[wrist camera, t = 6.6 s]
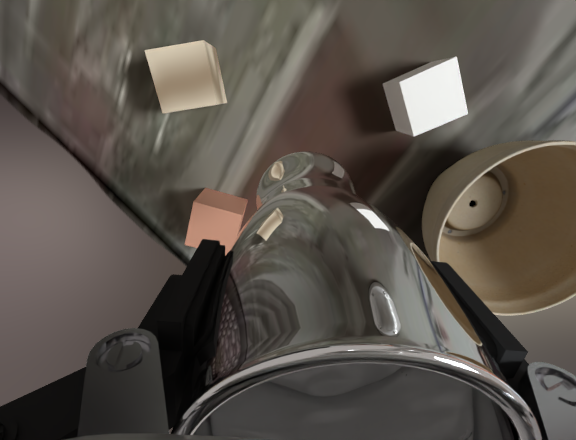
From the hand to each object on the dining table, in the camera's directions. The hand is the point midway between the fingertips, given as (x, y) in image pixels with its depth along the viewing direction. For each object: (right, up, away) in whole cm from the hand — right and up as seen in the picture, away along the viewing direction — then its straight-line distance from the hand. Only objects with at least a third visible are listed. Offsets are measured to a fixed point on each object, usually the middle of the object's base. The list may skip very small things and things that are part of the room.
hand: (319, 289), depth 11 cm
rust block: (-9, +3, +26) cm, 27 cm away
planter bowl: (+19, +5, +26) cm, 33 cm away
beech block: (-10, +16, +20) cm, 28 cm away
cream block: (+12, +15, +21) cm, 29 cm away
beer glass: (0, +4, +9) cm, 9 cm away
